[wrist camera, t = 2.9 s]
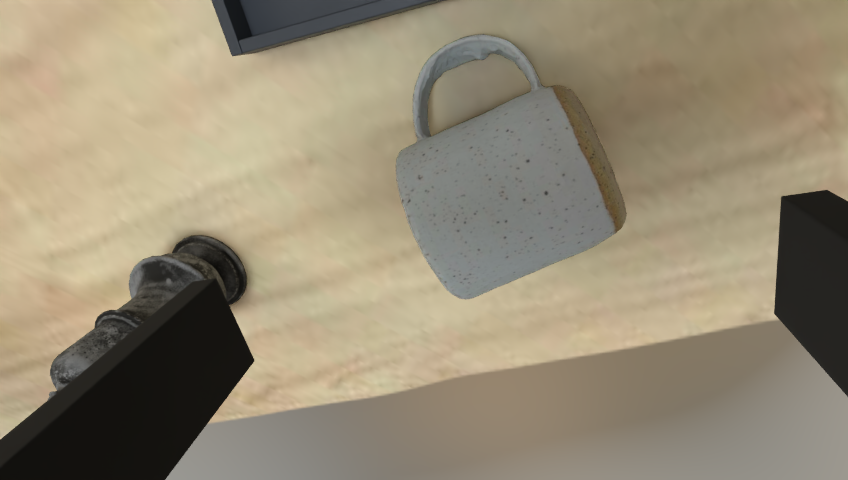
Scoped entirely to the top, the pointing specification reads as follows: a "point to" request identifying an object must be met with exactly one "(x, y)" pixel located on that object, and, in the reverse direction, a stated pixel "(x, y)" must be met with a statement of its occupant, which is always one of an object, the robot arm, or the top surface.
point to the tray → (297, 19)
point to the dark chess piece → (152, 299)
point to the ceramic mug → (505, 180)
